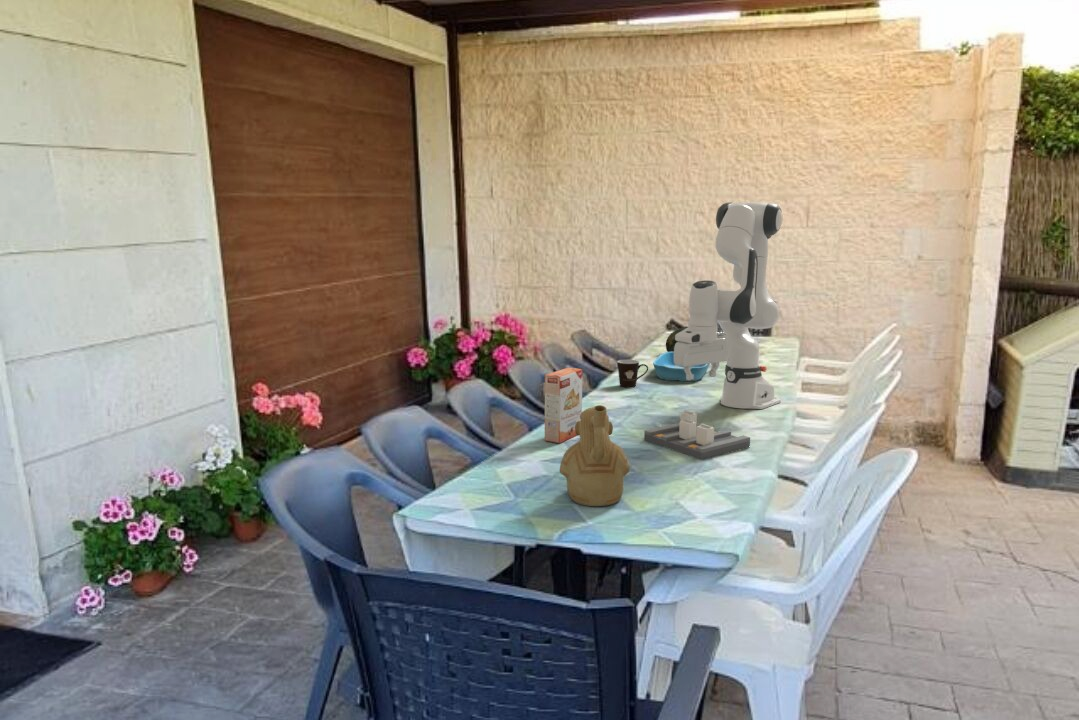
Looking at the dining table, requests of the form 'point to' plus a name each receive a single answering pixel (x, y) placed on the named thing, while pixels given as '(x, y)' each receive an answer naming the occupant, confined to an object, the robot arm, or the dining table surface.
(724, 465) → the dining table surface
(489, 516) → the dining table surface
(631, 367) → the coffee mug
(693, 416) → the tab
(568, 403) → the cracker box
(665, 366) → the casserole dish
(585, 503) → the ceramic vessel
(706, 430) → the tab
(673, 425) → the switch board
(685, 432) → the white rectangular block
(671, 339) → the squash
